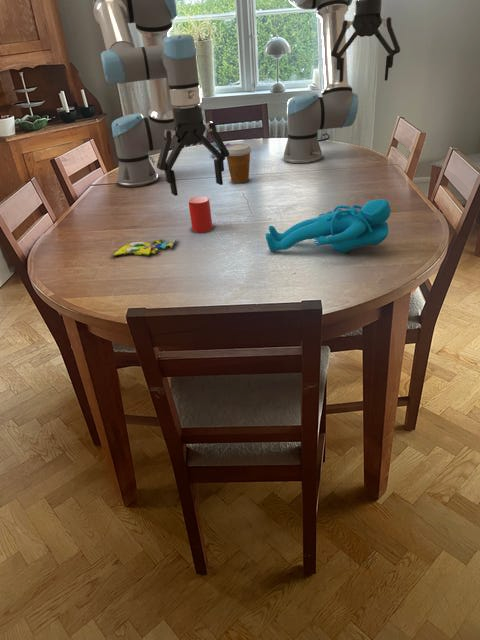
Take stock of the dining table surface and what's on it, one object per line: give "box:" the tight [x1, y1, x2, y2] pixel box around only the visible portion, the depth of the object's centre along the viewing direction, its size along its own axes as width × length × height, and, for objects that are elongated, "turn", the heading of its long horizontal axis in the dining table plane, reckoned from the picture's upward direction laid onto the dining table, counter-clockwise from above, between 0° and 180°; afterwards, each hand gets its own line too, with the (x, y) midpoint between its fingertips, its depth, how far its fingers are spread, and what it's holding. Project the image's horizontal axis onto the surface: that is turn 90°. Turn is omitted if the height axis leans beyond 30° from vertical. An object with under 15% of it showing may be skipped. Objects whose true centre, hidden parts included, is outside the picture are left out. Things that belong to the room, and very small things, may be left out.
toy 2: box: [265, 198, 392, 254], centre depth 118 cm, size 17×11×30 cm
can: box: [187, 195, 213, 234], centre depth 136 cm, size 6×6×9 cm
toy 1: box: [112, 238, 177, 258], centre depth 129 cm, size 10×1×15 cm
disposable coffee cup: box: [225, 142, 252, 184], centre depth 171 cm, size 10×10×12 cm
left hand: (197, 189), depth 132 cm, fingers open, 13 cm apart
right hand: (363, 80), depth 149 cm, fingers open, 13 cm apart
